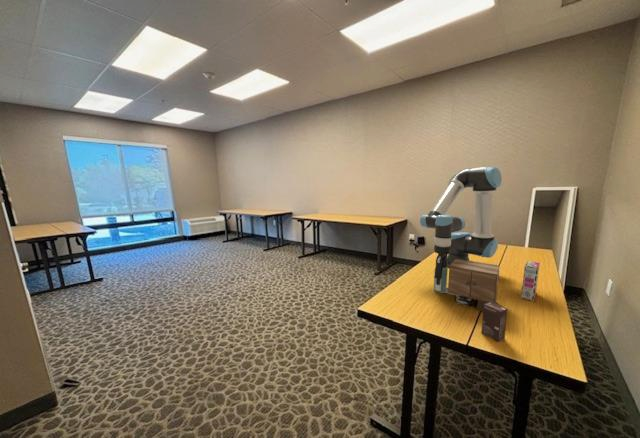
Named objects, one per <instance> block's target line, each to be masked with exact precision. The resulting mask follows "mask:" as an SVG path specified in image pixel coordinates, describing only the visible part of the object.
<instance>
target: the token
mask: <svg viewBox="0 0 640 438" xmlns="http://www.w3.org/2000/svg"><path fill="white" fill-rule="evenodd" d="M455 303H456V304H458V305H460V306H463V307H470V306H471V305H472V299H469V298H467V297H464V296H456V297H455Z"/></svg>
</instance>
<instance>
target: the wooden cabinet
mask: <svg viewBox="0 0 640 438" xmlns="http://www.w3.org/2000/svg"><path fill="white" fill-rule="evenodd" d="M499 276H500V265H499V264H493V263H486V262H479V261H475V260H474V261H473V260H470V261H468V260H462V259H455V260H454V261H453V262H452V264H451V265H450V266H449V268H448V281H447V283H448V285H447V288H448V293H452V294H456V295H460V296H464V297H469V298H473V299H474V300H477V307H476V308H477V309H476V311H479V312H482V313H483V309H484V304H486V303H488V302H492V303H495V304H497V297H498V286H499ZM448 293H447V294H448ZM452 294H451V295H452ZM456 295H455V296H456ZM473 299H472V300H473Z"/></svg>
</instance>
